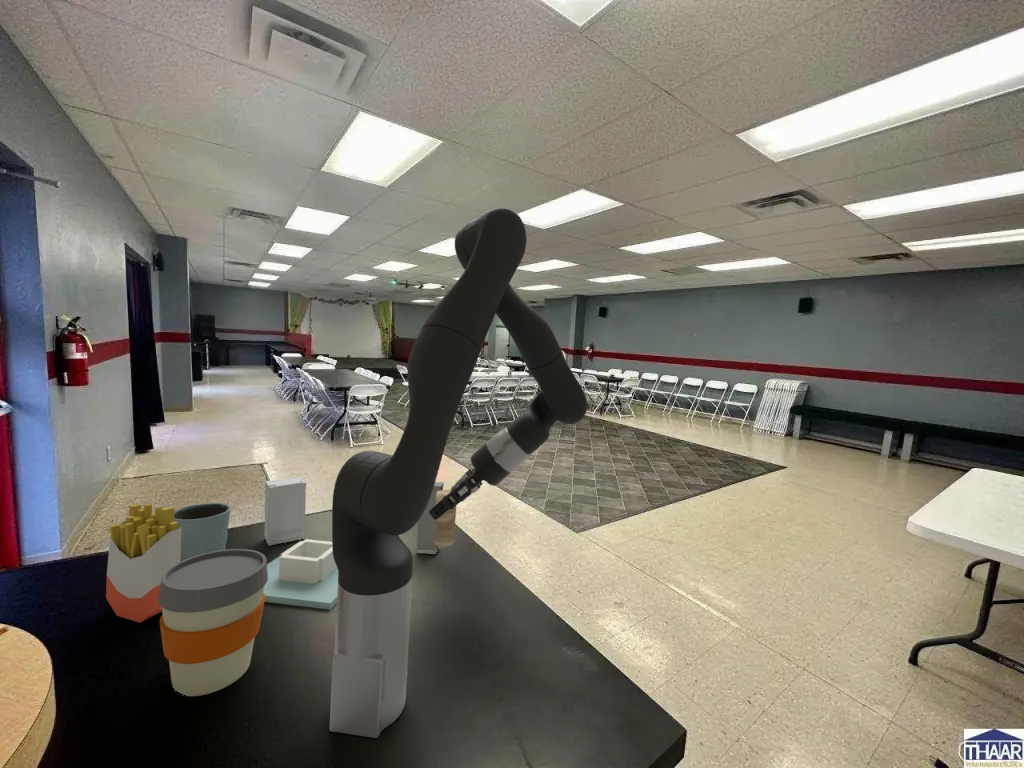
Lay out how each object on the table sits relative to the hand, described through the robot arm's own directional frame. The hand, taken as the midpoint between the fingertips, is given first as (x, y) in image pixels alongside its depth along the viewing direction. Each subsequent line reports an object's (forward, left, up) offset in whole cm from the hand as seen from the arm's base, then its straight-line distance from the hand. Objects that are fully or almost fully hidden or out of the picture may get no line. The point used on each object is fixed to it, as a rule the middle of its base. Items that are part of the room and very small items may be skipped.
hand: (435, 511), depth 82 cm
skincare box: (+16, +42, -17) cm, 48 cm away
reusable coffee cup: (-26, +24, -17) cm, 39 cm away
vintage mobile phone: (+18, +6, -17) cm, 25 cm away
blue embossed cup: (0, +50, -17) cm, 53 cm away
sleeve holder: (+1, +26, -16) cm, 31 cm away
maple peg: (0, -2, -6) cm, 6 cm away
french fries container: (-16, +46, -17) cm, 52 cm away
